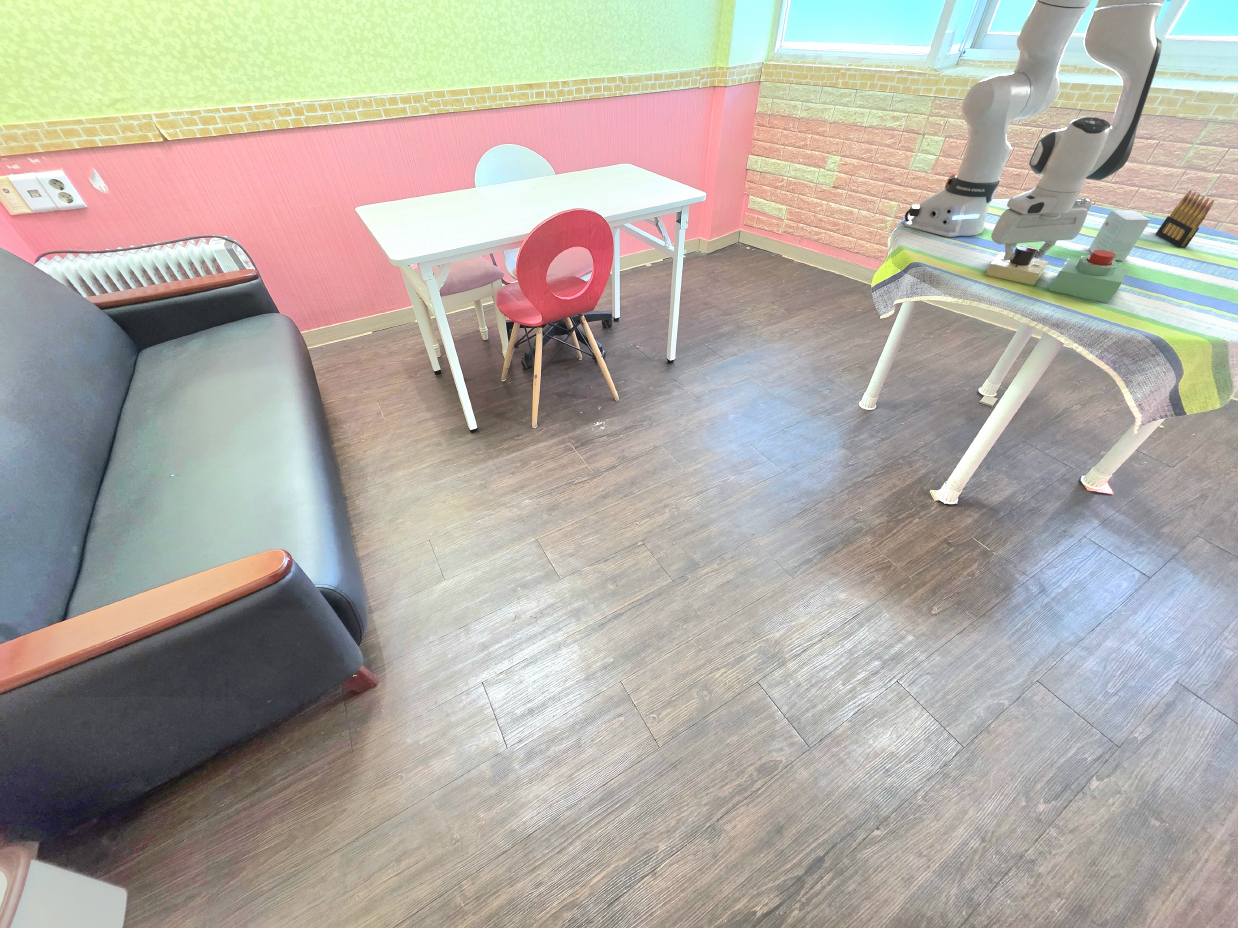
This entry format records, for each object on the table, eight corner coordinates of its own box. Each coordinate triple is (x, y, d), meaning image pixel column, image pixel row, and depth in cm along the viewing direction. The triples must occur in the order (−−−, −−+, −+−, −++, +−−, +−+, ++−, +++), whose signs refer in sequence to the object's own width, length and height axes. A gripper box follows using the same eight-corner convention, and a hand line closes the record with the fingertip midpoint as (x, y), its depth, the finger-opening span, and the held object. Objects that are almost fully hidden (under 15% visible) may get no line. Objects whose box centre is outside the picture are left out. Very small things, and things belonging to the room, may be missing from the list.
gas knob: (1007, 263, 129) (1015, 248, 126) (1012, 257, 131) (1019, 243, 129) (1027, 267, 127) (1035, 252, 124) (1031, 261, 129) (1039, 246, 126)
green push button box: (1048, 290, 123) (1064, 262, 119) (1057, 277, 129) (1073, 249, 124) (1108, 303, 117) (1127, 274, 113) (1114, 288, 122) (1133, 260, 118)
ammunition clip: (1154, 234, 146) (1184, 189, 138) (1161, 234, 146) (1192, 189, 137) (1178, 247, 138) (1212, 201, 130) (1186, 247, 138) (1220, 201, 130)
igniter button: (1085, 264, 118) (1091, 254, 117) (1088, 258, 121) (1094, 248, 119) (1107, 268, 116) (1114, 258, 115) (1111, 262, 118) (1117, 252, 117)
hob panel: (985, 275, 131) (991, 263, 129) (995, 263, 137) (1001, 251, 134) (1033, 285, 126) (1040, 273, 124) (1042, 272, 131) (1049, 260, 129)
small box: (1124, 261, 133) (1151, 220, 126) (1101, 260, 134) (1126, 219, 127) (1109, 250, 139) (1135, 210, 132) (1087, 249, 140) (1110, 209, 133)
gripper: (1085, 194, 121) (1053, 251, 131) (1002, 199, 121) (977, 256, 131) (1104, 201, 117) (1070, 260, 126) (1018, 207, 117) (991, 265, 126)
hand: (1022, 258), depth 128 cm, fingers open, 6 cm apart
